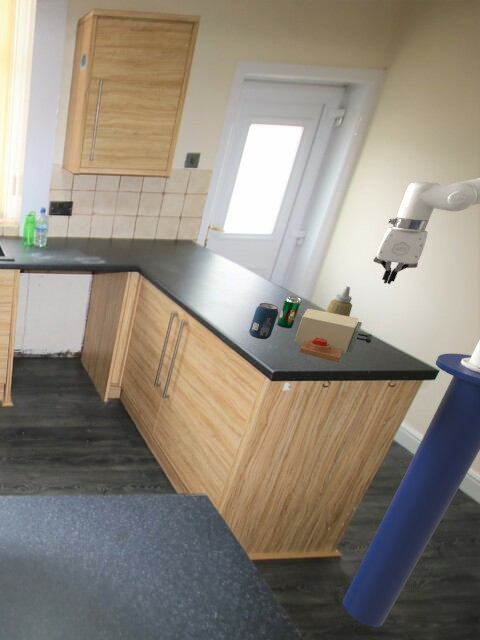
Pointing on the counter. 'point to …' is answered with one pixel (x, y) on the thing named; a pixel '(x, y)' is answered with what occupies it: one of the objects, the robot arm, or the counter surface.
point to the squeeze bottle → (341, 303)
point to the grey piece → (354, 337)
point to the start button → (320, 341)
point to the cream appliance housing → (326, 328)
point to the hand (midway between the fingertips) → (387, 282)
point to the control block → (321, 351)
